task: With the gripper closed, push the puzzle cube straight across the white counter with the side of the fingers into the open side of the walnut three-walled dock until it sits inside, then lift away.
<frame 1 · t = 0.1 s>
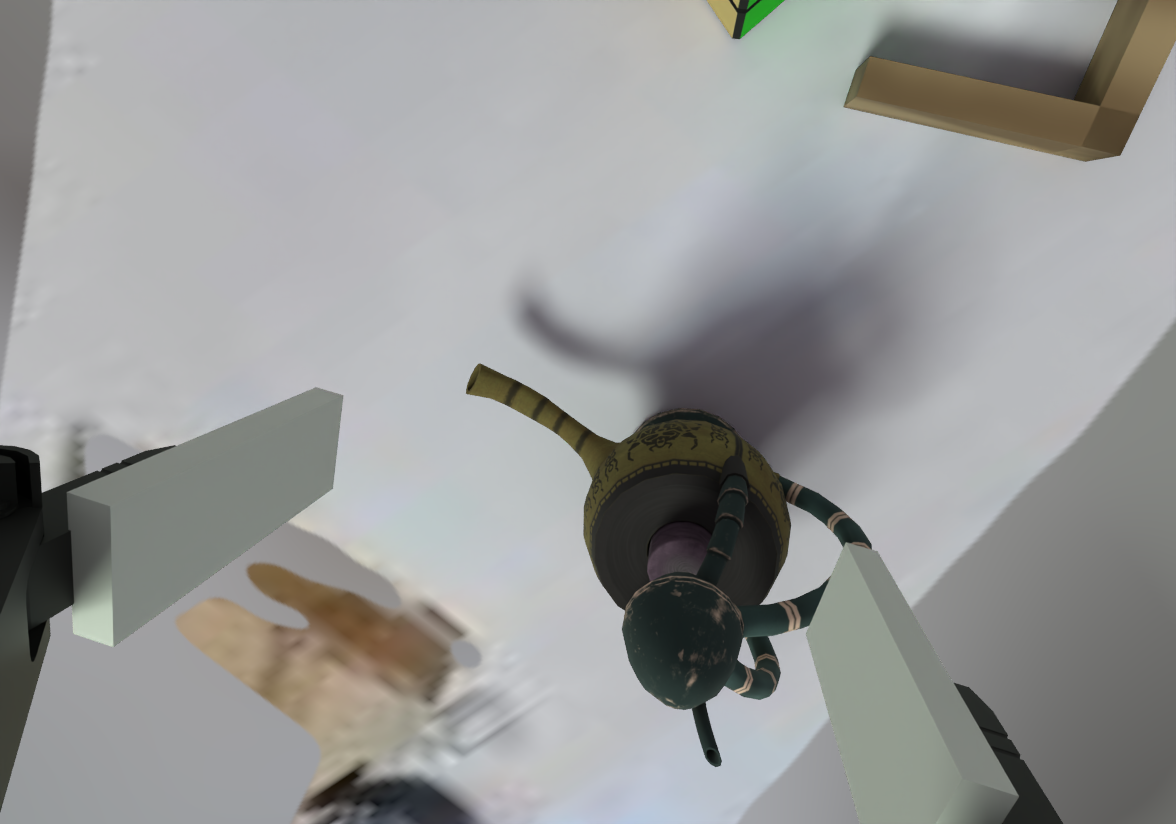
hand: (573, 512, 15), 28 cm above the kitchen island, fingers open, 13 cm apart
teapot: (642, 442, 44), on the kitchen island
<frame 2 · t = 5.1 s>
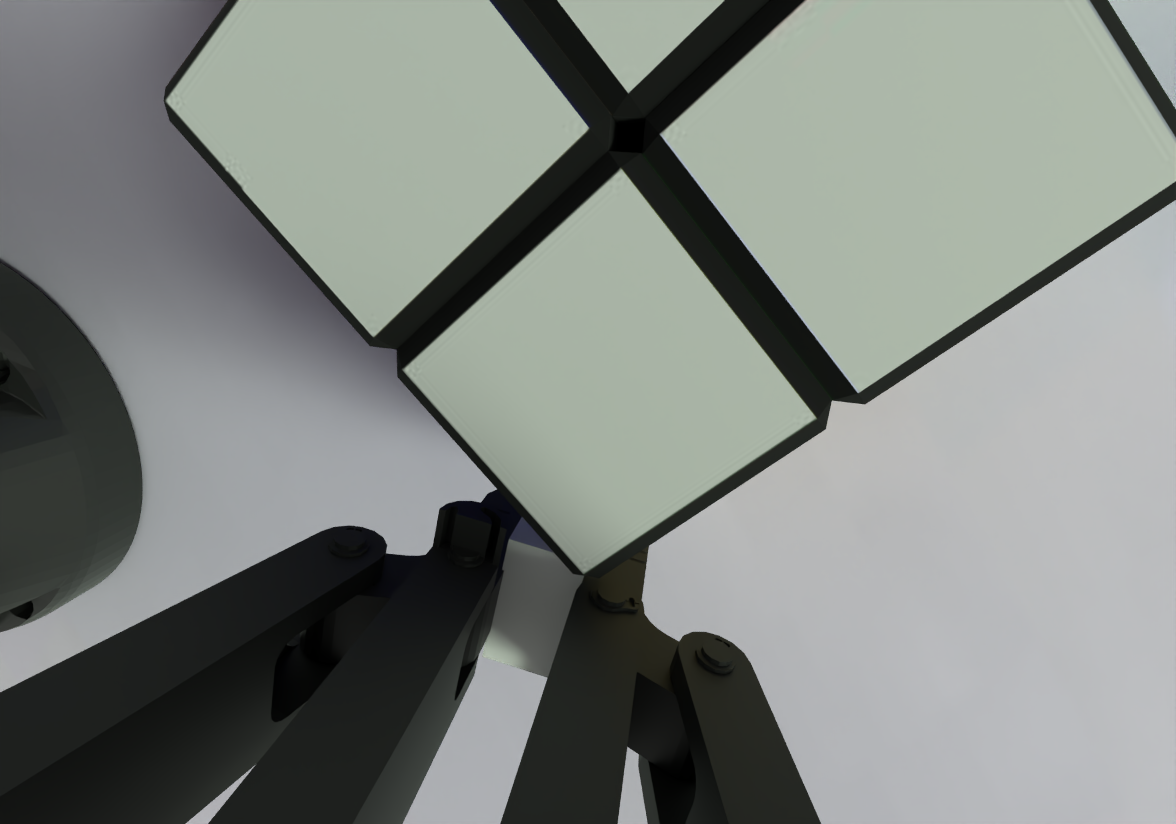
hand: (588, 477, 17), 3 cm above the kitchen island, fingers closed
puzzle cube: (660, 183, 17), on the kitchen island, touching gripper
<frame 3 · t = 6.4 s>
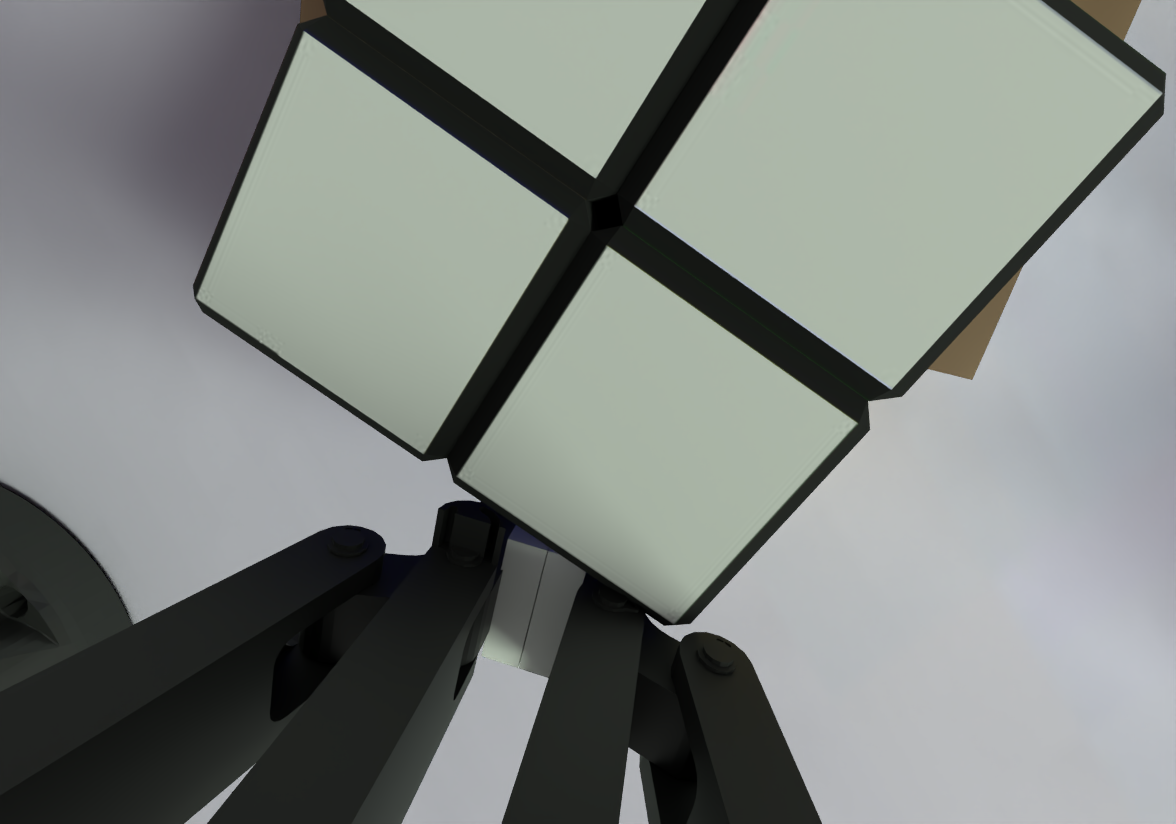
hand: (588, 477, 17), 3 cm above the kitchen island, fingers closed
walnut dock: (678, 62, 16), on the kitchen island
puzzle cube: (646, 219, 18), on the kitchen island, touching gripper, hand
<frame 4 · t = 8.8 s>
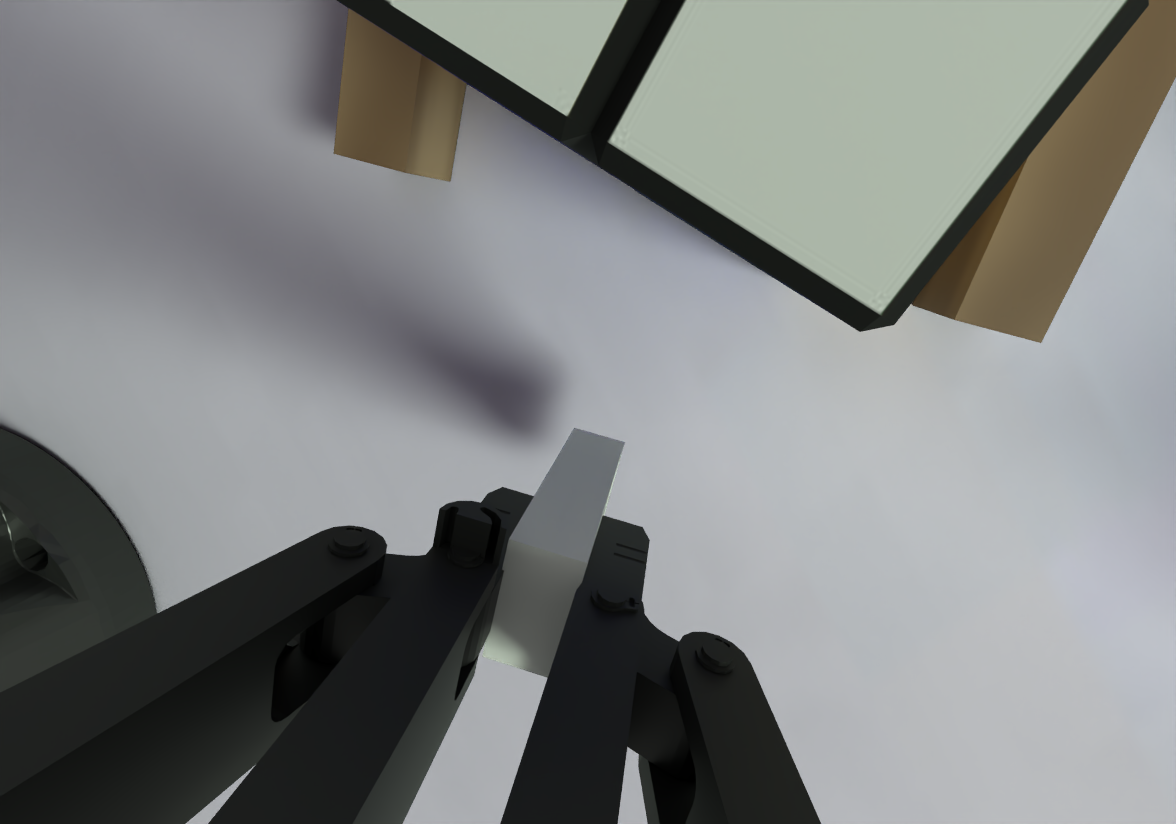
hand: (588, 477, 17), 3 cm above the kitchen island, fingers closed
walnut dock: (738, 10, 16), on the kitchen island
puzzle cube: (742, 23, 16), on the kitchen island
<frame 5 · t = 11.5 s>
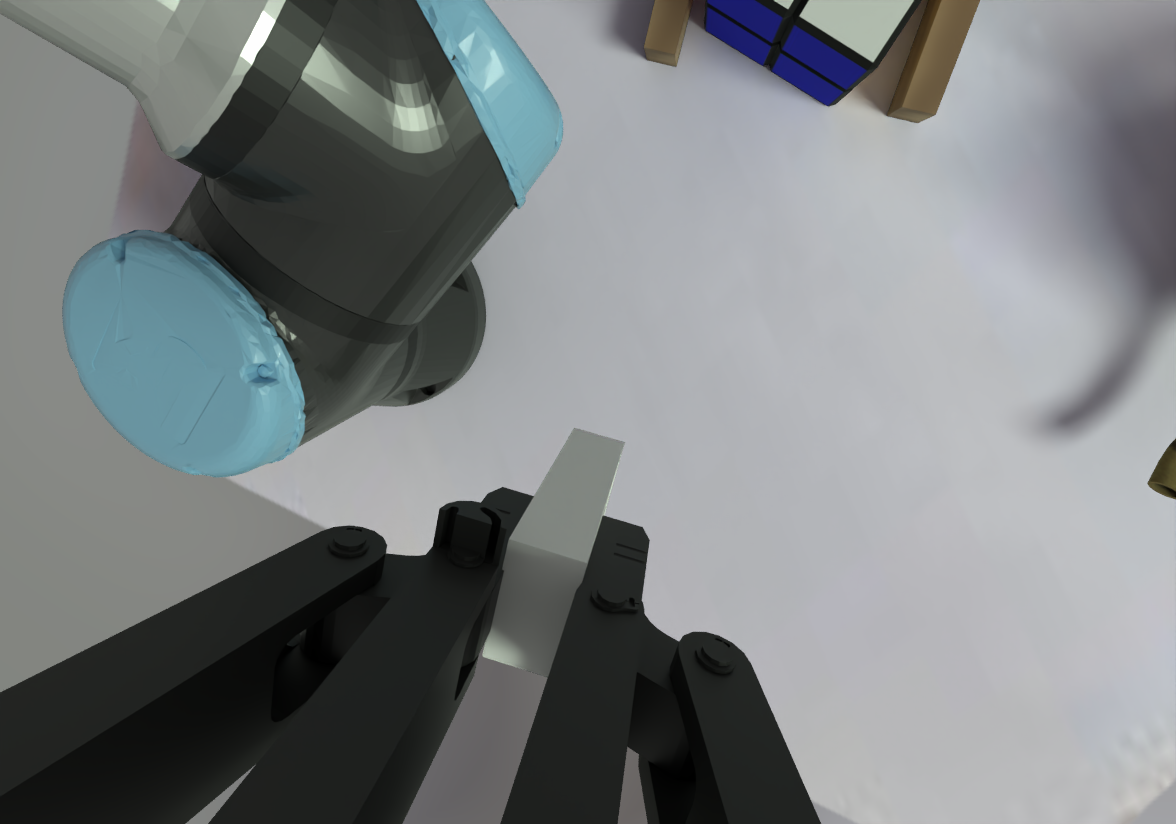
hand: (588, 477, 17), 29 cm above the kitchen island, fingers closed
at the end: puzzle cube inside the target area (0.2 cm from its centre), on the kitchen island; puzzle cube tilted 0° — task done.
